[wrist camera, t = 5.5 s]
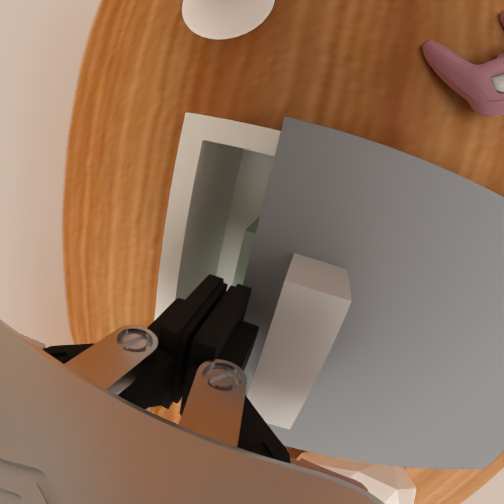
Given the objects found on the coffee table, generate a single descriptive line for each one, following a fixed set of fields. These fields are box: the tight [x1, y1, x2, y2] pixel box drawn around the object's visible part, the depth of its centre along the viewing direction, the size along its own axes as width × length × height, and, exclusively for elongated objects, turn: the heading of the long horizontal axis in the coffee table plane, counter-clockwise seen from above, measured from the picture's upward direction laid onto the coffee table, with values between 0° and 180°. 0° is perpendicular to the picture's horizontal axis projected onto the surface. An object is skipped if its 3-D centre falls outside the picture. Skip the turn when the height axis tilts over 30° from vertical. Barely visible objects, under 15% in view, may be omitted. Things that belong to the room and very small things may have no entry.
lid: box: [243, 116, 504, 469], centre depth 10 cm, size 15×19×4 cm
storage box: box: [154, 112, 281, 321], centre depth 16 cm, size 14×18×8 cm
